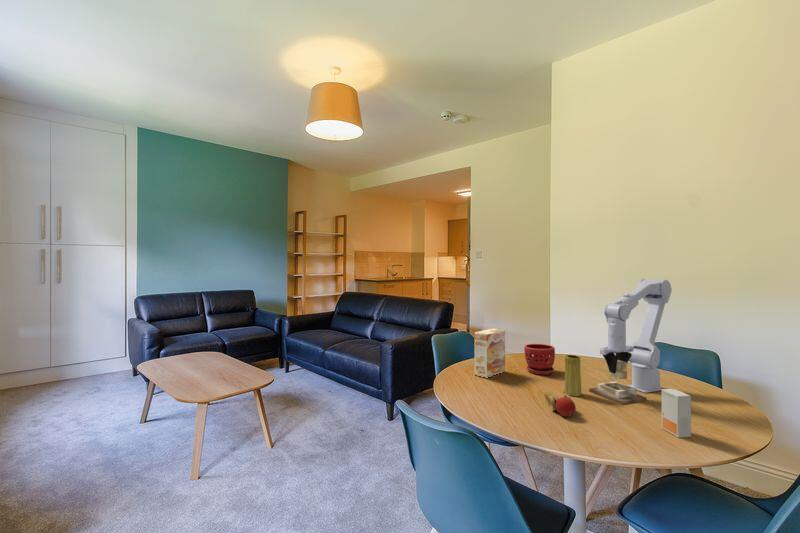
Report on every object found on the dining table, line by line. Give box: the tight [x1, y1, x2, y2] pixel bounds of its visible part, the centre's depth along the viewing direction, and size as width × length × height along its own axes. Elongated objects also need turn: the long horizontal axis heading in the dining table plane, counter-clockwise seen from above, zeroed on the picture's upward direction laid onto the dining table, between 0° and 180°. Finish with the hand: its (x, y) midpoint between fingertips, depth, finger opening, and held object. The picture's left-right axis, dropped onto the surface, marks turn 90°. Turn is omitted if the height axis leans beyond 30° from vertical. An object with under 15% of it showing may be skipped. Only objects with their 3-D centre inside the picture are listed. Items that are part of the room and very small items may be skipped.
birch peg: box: [608, 360, 628, 380], centre depth 134 cm, size 4×4×6 cm
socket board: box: [588, 380, 647, 405], centre depth 135 cm, size 12×14×4 cm
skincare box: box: [660, 388, 692, 439], centre depth 105 cm, size 6×4×12 cm
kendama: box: [543, 390, 577, 418], centre depth 123 cm, size 8×6×18 cm
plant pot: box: [524, 343, 556, 376], centre depth 165 cm, size 13×13×12 cm
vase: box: [563, 354, 582, 397], centre depth 137 cm, size 6×6×14 cm
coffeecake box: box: [473, 328, 506, 379], centre depth 162 cm, size 15×7×20 cm, turn 132°
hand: (616, 372), depth 135 cm, fingers closed on birch peg, 4 cm apart
